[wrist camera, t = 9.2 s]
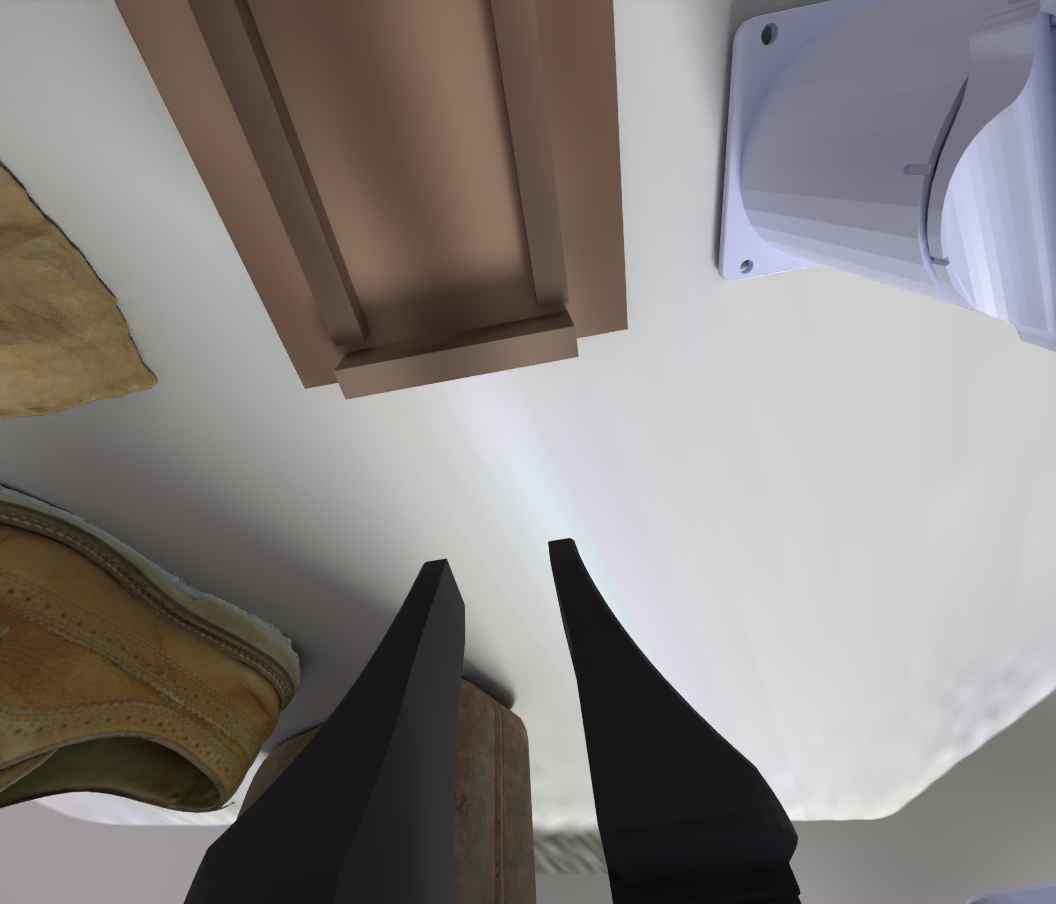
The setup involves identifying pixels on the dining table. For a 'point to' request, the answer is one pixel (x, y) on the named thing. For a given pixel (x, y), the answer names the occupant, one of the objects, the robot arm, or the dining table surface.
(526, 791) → the container
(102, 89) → the dining table surface
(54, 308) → the rock
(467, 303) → the slider track
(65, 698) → the oxford shoe
